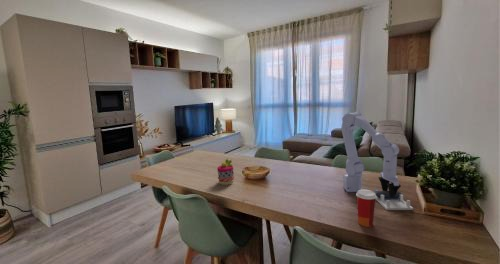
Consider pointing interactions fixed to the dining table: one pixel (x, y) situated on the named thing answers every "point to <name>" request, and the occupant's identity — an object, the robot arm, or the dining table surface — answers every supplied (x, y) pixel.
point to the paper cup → (365, 207)
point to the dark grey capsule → (387, 194)
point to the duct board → (394, 203)
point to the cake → (225, 173)
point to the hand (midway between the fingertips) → (388, 193)
